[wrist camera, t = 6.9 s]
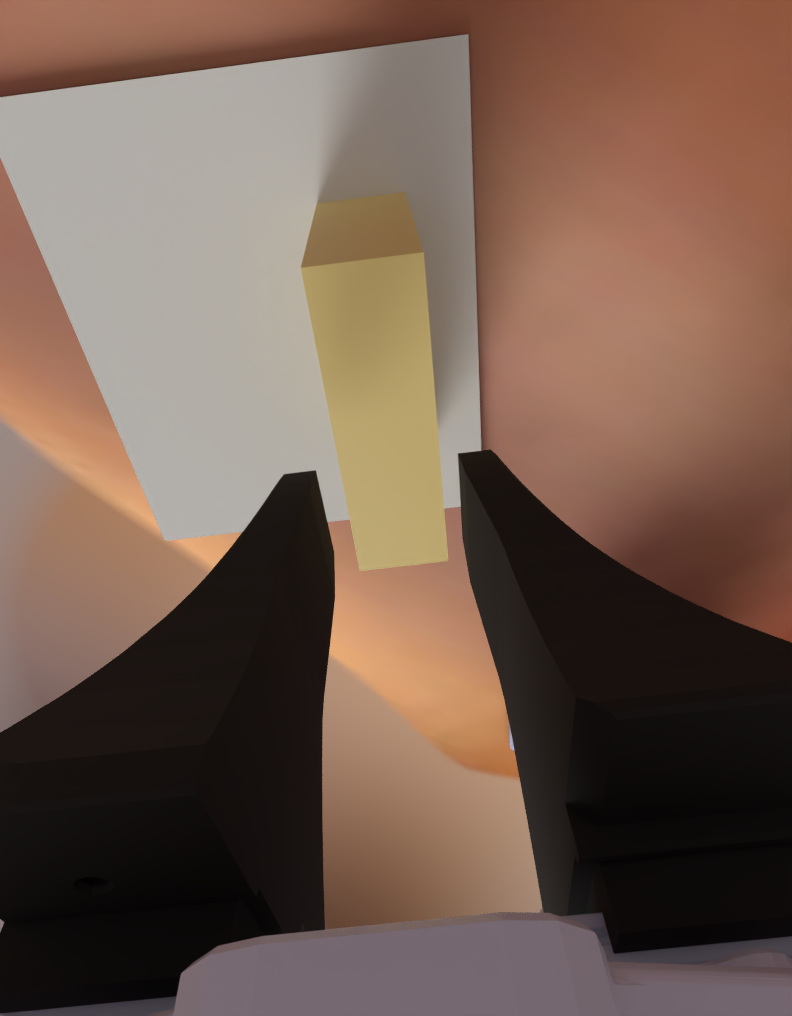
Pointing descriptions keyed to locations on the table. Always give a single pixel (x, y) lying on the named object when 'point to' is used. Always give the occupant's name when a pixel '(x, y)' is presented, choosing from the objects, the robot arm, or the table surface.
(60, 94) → the mat
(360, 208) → the block
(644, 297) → the table surface
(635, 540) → the table surface
